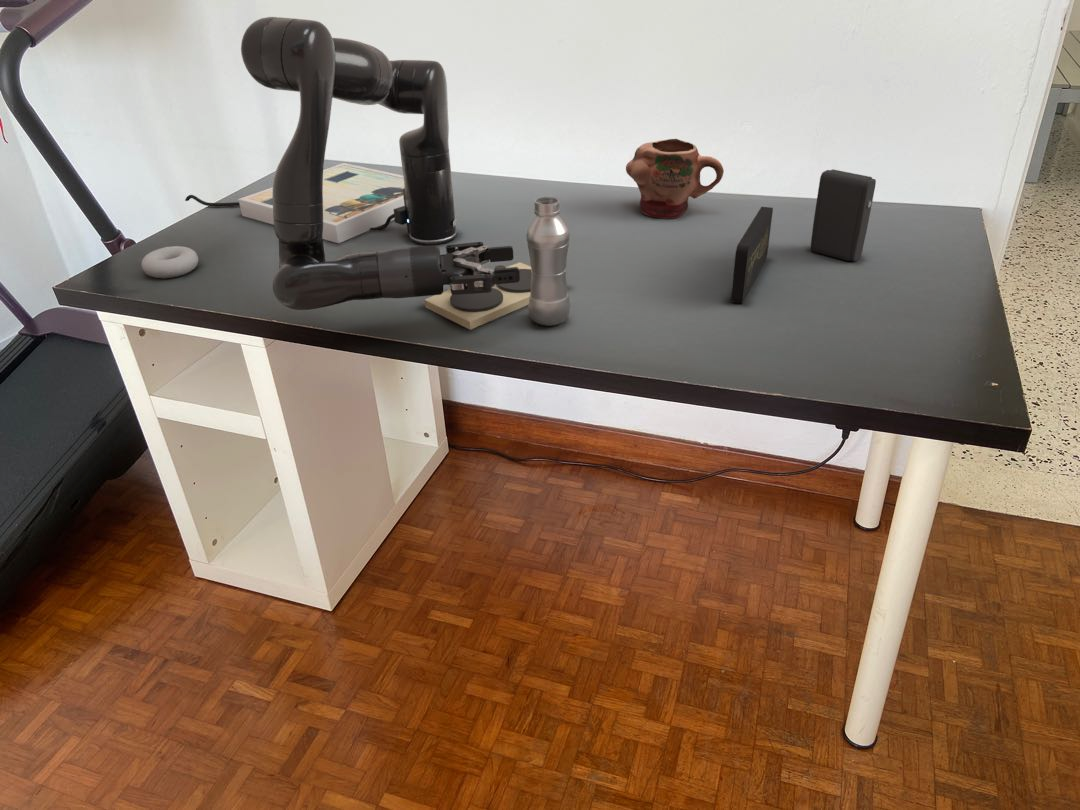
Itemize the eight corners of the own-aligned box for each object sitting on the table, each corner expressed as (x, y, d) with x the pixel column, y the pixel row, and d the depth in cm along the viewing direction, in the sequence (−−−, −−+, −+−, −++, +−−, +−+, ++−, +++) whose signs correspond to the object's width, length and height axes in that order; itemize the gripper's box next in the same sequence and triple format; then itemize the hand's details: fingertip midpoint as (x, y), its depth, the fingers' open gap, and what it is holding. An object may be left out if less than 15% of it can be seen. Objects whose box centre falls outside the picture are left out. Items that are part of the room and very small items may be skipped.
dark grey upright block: (864, 257, 154) (880, 176, 146) (854, 264, 151) (869, 182, 143) (818, 245, 159) (830, 166, 151) (807, 252, 157) (819, 172, 149)
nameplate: (741, 305, 138) (748, 248, 133) (730, 303, 139) (736, 246, 134) (766, 258, 155) (773, 206, 149) (756, 257, 155) (762, 204, 150)
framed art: (335, 225, 165) (238, 198, 181) (338, 243, 167) (242, 215, 183) (439, 183, 186) (343, 162, 201) (440, 199, 188) (346, 178, 203)
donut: (176, 284, 153) (211, 262, 161) (171, 267, 151) (206, 245, 159) (132, 278, 156) (168, 257, 164) (126, 261, 154) (163, 240, 162)
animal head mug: (721, 204, 180) (727, 138, 172) (718, 224, 170) (724, 155, 162) (628, 199, 184) (630, 135, 177) (620, 219, 174) (621, 151, 167)
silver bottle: (527, 313, 138) (522, 194, 128) (568, 311, 139) (566, 192, 128) (530, 331, 133) (525, 209, 122) (572, 329, 133) (571, 206, 122)
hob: (425, 307, 141) (423, 292, 140) (520, 269, 154) (519, 255, 152) (470, 330, 134) (469, 314, 133) (566, 288, 146) (566, 274, 145)
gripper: (407, 267, 120) (520, 258, 122) (407, 232, 132) (509, 223, 133) (413, 315, 124) (522, 305, 126) (412, 276, 136) (512, 267, 138)
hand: (516, 263), depth 130 cm, fingers open, 8 cm apart
